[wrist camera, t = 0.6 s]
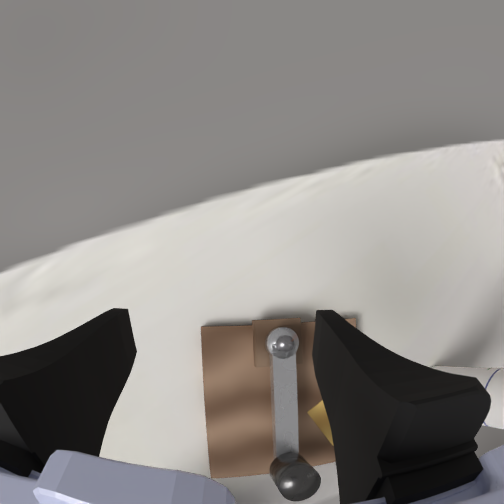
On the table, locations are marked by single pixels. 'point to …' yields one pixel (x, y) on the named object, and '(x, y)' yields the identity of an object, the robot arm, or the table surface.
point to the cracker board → (257, 398)
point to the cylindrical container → (494, 381)
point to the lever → (287, 419)
